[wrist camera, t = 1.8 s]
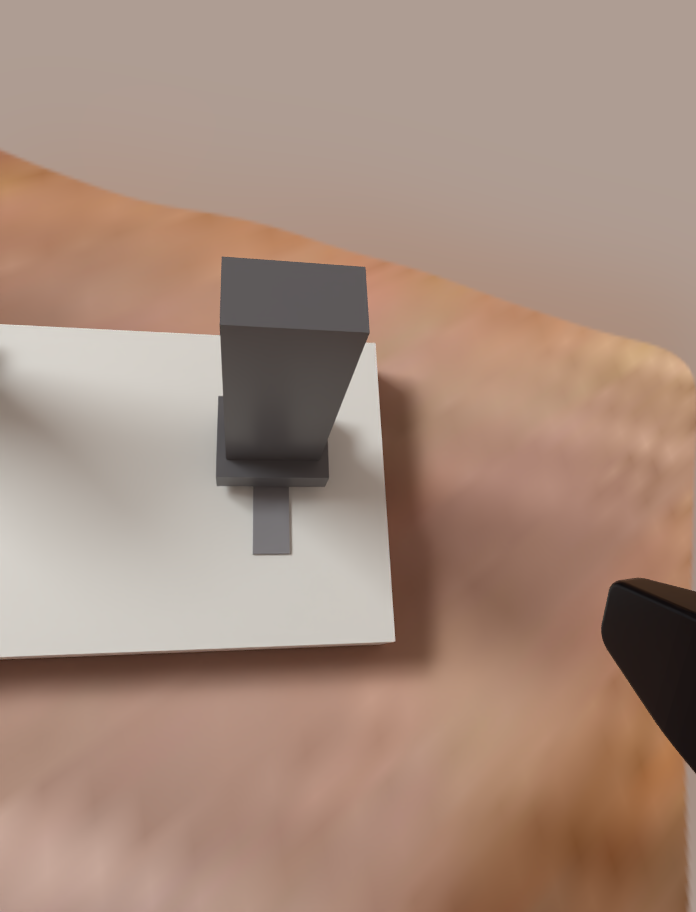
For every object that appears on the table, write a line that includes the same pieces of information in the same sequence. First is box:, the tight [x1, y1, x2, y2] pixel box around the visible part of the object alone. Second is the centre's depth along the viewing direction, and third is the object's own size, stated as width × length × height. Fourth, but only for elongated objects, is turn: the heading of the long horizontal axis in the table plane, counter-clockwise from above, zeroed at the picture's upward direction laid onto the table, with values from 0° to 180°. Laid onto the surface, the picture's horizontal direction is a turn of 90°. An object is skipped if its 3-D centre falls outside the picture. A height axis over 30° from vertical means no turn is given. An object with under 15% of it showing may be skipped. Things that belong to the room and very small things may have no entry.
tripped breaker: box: [216, 257, 370, 487], centre depth 17 cm, size 3×4×9 cm
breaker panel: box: [0, 324, 395, 660], centre depth 21 cm, size 11×20×2 cm, turn 93°
